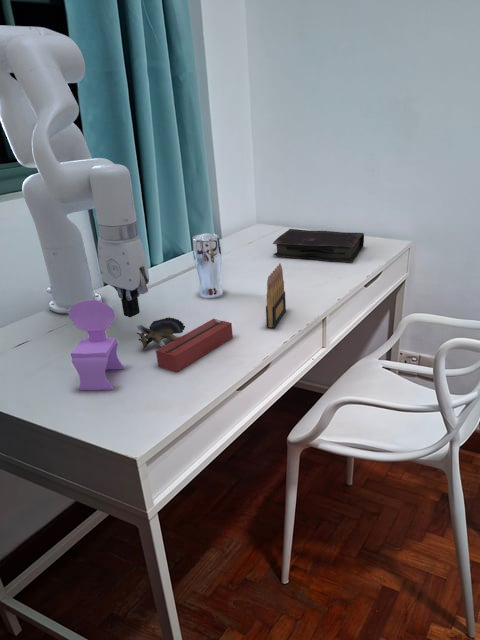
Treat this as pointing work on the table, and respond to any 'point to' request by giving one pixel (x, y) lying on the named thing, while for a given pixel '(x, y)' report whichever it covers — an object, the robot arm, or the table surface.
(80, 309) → the toy chair
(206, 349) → the pencil case
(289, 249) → the diary
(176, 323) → the eagle figurine
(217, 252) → the beer glass
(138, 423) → the table surface
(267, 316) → the ammunition clip
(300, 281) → the table surface
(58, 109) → the robot arm
